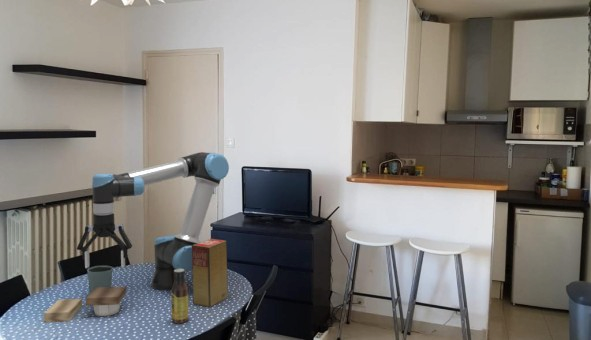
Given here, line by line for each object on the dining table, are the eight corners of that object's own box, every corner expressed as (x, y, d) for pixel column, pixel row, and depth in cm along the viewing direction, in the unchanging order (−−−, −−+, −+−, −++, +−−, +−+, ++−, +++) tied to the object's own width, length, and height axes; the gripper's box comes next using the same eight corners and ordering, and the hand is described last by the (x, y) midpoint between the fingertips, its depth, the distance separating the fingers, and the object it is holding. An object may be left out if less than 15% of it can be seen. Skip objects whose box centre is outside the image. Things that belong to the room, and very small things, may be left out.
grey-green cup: (84, 295, 199) (83, 268, 198) (107, 289, 206) (106, 263, 205) (94, 301, 192) (93, 273, 191) (117, 295, 199) (116, 268, 198)
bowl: (121, 306, 186) (121, 294, 186) (115, 315, 177) (115, 303, 177) (99, 307, 185) (98, 295, 185) (91, 316, 176) (91, 304, 176)
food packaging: (211, 293, 202) (210, 238, 200) (228, 297, 198) (228, 240, 195) (191, 303, 190) (190, 244, 188) (210, 307, 186) (209, 247, 184)
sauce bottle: (173, 317, 176) (172, 267, 174) (189, 317, 176) (189, 266, 175) (170, 324, 169) (169, 272, 168) (187, 324, 170) (186, 272, 168)
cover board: (126, 293, 187) (126, 286, 187) (118, 304, 176) (118, 296, 175) (95, 294, 186) (95, 287, 186) (85, 305, 174) (85, 298, 174)
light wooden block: (82, 307, 186) (81, 298, 186) (69, 321, 172) (68, 312, 172) (59, 307, 185) (58, 299, 185) (44, 322, 171) (43, 313, 171)
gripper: (139, 211, 183) (140, 263, 185) (73, 212, 180) (75, 264, 182) (134, 214, 176) (135, 268, 177) (66, 215, 173) (68, 270, 175)
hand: (105, 266), depth 180 cm, fingers open, 13 cm apart
